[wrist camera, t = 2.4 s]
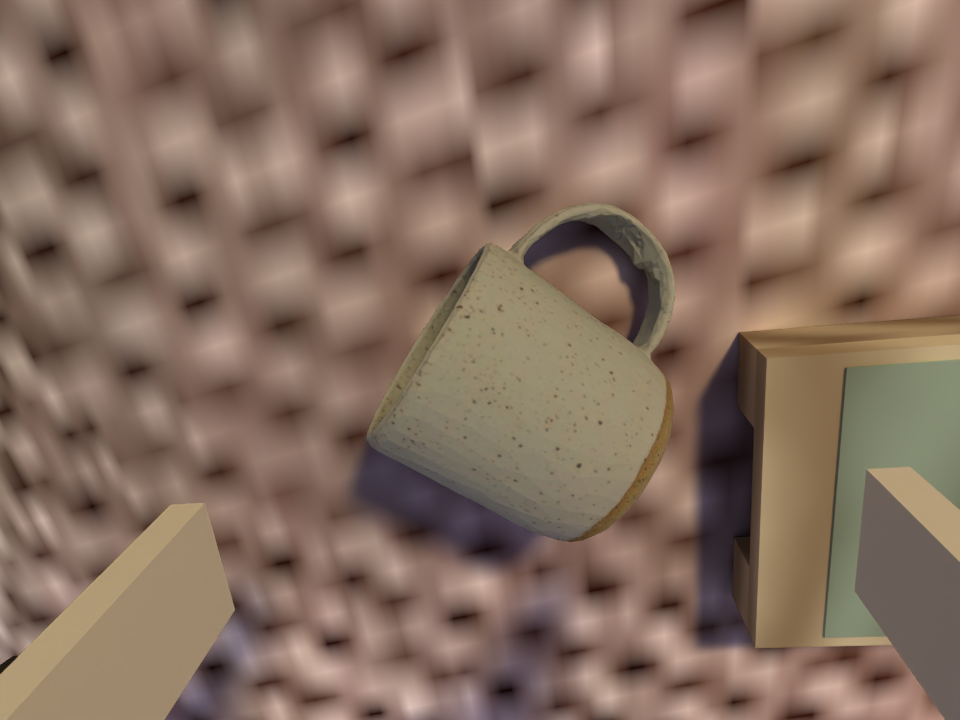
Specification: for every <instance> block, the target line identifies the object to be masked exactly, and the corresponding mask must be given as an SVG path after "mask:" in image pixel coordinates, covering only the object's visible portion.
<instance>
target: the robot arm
mask: <svg viewBox="0 0 960 720" xmlns="http://www.w3.org/2000/svg"><path fill="white" fill-rule="evenodd" d="M855 593H856V594H857V595H858V597H859V598H860V600H861V601H862V602H863V604H864V605H865V607H866V608H867V610H868V611H869V612H870V614H871V615H872V617H873V618H874V619H875V621H876V622H877V624H878V625H879V626H880V628H881V629H882V631H883V632H884V634H885V635H886V636H887V638H888V639H889V641H890V642H891V643H892V645H893V646H894V648H895V649H896V651H897V652H898V653H899V655H900V656H901V658H902V659H903V660H904V662H905V663H906V665H907V666H908V668H909V669H910V670H911V672H912V673H913V675H914V676H915V677H916V679H917V680H918V682H919V683H920V685H921V686H922V687H923V689H924V690H925V692H926V693H927V694H928V696H929V697H930V699H931V700H932V701H933V703H934V704H935V706H936V707H937V709H938V710H939V711H940V713H941V714H942V716H943V717H944V718H945V720H960V510H959V509H958V508H957V507H956V506H955V505H953V504H952V503H951V502H950V501H949V500H948V499H947V498H945V497H944V496H943V495H942V494H941V493H940V492H939V491H937V490H936V489H935V488H934V487H933V486H932V485H930V484H929V483H928V482H927V481H926V480H925V479H924V478H922V477H921V476H920V475H919V474H918V473H917V472H916V471H914V470H913V469H912V468H911V467H896V468H876V469H866V478H865V488H864V498H863V509H862V519H861V529H860V539H859V550H858V560H857V570H856V580H855ZM234 611H235V608H234V605H233V601H232V597H231V594H230V590H229V587H228V583H227V580H226V576H225V573H224V569H223V565H222V562H221V558H220V555H219V551H218V548H217V544H216V540H215V537H214V533H213V530H212V526H211V523H210V519H209V516H208V512H207V508H206V505H205V503H193V504H174V505H170V506H169V507H168V508H167V509H166V510H165V511H164V512H163V513H162V514H161V515H160V516H159V517H158V518H157V519H156V520H155V521H154V522H153V523H152V524H151V525H150V526H149V527H148V528H147V529H146V530H145V531H144V532H143V533H142V534H141V535H140V536H139V537H138V538H137V539H136V540H135V541H134V542H133V543H132V544H131V545H130V546H129V547H128V548H127V549H126V550H125V551H124V552H123V553H122V554H121V555H120V556H119V557H118V558H117V559H116V560H115V561H114V562H113V563H112V564H111V565H110V566H109V567H108V568H107V569H106V570H105V571H104V572H103V573H102V574H101V575H100V576H99V577H98V578H97V579H96V580H95V581H94V582H93V583H92V584H91V585H90V586H89V587H88V588H87V589H86V590H85V591H84V592H83V593H82V594H81V595H80V596H79V597H78V598H77V599H76V600H75V601H74V602H73V603H72V604H71V605H70V606H69V607H68V608H67V609H66V610H65V611H64V612H63V613H62V614H61V615H60V616H59V617H58V618H57V619H56V620H55V621H53V622H52V623H51V624H50V625H49V626H48V627H47V628H46V629H45V630H44V631H43V632H42V633H41V634H40V635H39V636H38V637H37V638H36V639H35V640H34V641H33V642H32V643H31V644H30V645H29V646H28V647H27V648H26V649H25V650H24V651H23V652H22V653H21V654H20V655H19V656H13V657H11V658H10V659H8V660H7V661H5V662H4V663H2V664H1V665H0V720H165V718H166V717H167V715H168V714H169V712H170V710H171V709H172V707H173V706H174V704H175V703H176V701H177V700H178V698H179V696H180V695H181V693H182V692H183V690H184V689H185V687H186V686H187V684H188V682H189V681H190V679H191V678H192V676H193V675H194V673H195V672H196V670H197V668H198V667H199V665H200V664H201V662H202V661H203V659H204V658H205V656H206V654H207V653H208V651H209V650H210V648H211V647H212V645H213V643H214V642H215V640H216V639H217V637H218V636H219V634H220V633H221V631H222V629H223V628H224V626H225V625H226V623H227V622H228V620H229V619H230V617H231V615H232V614H233V612H234Z"/></svg>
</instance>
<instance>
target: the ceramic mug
mask: <svg viewBox="0 0 960 720" xmlns="http://www.w3.org/2000/svg"><path fill="white" fill-rule="evenodd" d="M572 221H583V222H585V223H587V224H591V225H594V226H596V227H597V228H599V229H600V230H601V231H602V232H603V233H605V234H606V235H607V236H608V237H609V238H610V239H612V240H613V241H614V242H615V243H617V244H618V245H619V246H620V247H621V248H622V249H623V250H624V251H625V252H626V253H627V254H628V255H629V256H630V258H631V260H632V263H633V265H634V266H635V267H637V268H639V269H644V271H645V274H646V277H647V280H648V292H649V301H648V307H647V309H646V311H645V318H644V321H643V323H642V325H641V327H640V330H639V333H638V335H637V336H636V338H635V340H634V342H633V343H631V342H630V341H629V340H627V339H626V338H625V337H623V336H622V335H620V334H619V333H617V332H616V331H614V330H613V329H611V328H610V327H608V326H607V325H605V324H603V323H602V322H600V321H599V320H597V319H596V318H594V317H593V316H592V315H590V314H589V313H588V312H586V311H585V310H584V309H583V308H581V307H580V306H579V305H577V304H576V303H575V302H573V301H572V300H571V299H570V298H568V297H567V296H565V295H564V294H563V293H561V292H560V291H559V290H557V289H556V288H555V287H554V286H552V285H551V284H550V283H548V282H547V281H545V280H544V279H543V278H541V277H540V276H539V275H538V274H536V273H535V272H533V271H532V270H530V269H528V268H527V267H526V266H525V265H524V255H525V253H526V251H527V250H528V249H529V248H530V247H531V246H532V245H533V244H534V243H535V242H536V241H537V240H539V239H540V238H541V237H542V236H544V235H545V234H547V233H548V232H549V231H551V230H552V229H554V228H555V227H557V226H558V225H561V224H564V223H567V222H572ZM674 299H675V283H674V277H673V271H672V268H671V265H670V262H669V259H668V256H667V254H666V252H665V250H664V249H663V247H662V246H661V244H660V242H659V241H658V240H657V238H656V237H655V236H654V234H653V233H652V232H651V231H650V230H649V229H648V228H647V227H645V226H644V225H643V224H642V223H641V222H639V221H638V220H637V219H636V218H635V217H633V216H632V215H630V214H629V213H627V212H625V211H623V210H621V209H619V208H617V207H615V206H612V205H607V204H600V203H586V204H581V205H576V206H572V207H568V208H565V209H562V210H560V211H558V212H556V213H554V214H552V215H550V216H548V217H546V218H545V219H544V220H542V221H541V222H540V223H538V224H537V225H536V226H535V227H533V228H532V229H531V230H530V231H529V232H528V233H526V234H525V235H524V236H523V237H522V238H521V239H520V240H519V241H517V242H516V243H515V244H514V245H513V246H512V248H511V249H510V250H509V251H508V252H507V251H504V250H503V249H502V248H500V247H498V246H497V245H495V244H492V243H489V244H486V245H485V246H483V247H482V248H481V249H480V250H479V251H478V252H477V254H476V255H475V256H474V257H473V258H472V259H471V261H470V262H469V264H468V265H467V266H466V267H465V269H464V270H463V272H462V273H461V274H460V276H459V277H458V278H457V279H456V281H455V283H454V285H453V287H452V288H451V290H450V291H449V292H448V294H447V295H446V296H445V298H444V299H443V300H442V302H441V303H440V305H439V306H438V308H437V309H436V311H435V313H434V314H433V316H432V317H431V319H430V321H429V322H428V324H427V325H426V326H425V328H424V329H423V331H422V333H421V335H420V337H419V338H418V339H417V341H416V342H415V344H414V346H413V348H412V349H411V351H410V353H409V354H408V356H407V357H406V359H405V361H404V362H403V364H402V366H401V367H400V369H399V371H398V373H397V374H396V376H395V378H394V379H393V381H392V382H391V384H390V386H389V388H388V390H387V392H386V395H385V396H384V398H383V399H382V401H381V403H380V406H379V408H378V410H377V411H376V414H375V416H374V418H373V420H372V423H371V425H370V427H369V429H368V432H367V436H366V441H367V442H368V444H369V445H370V446H371V447H372V448H374V449H375V450H376V451H378V452H380V453H382V454H384V455H386V456H388V457H390V458H392V459H394V460H396V461H398V462H400V463H402V464H404V465H406V466H408V467H410V468H411V469H413V470H415V471H417V472H419V473H421V474H423V475H425V476H427V477H428V478H430V479H432V480H434V481H436V482H437V483H439V484H441V485H443V486H445V487H447V488H449V489H451V490H452V491H454V492H456V493H458V494H460V495H462V496H464V497H466V498H468V499H470V500H472V501H474V502H476V503H478V504H480V505H482V506H484V507H486V508H487V509H489V510H491V511H493V512H494V513H496V514H498V515H500V516H502V517H503V518H505V519H507V520H509V521H511V522H513V523H514V524H516V525H518V526H520V527H523V528H525V529H527V530H529V531H531V532H534V533H538V534H541V535H544V536H547V537H550V538H554V539H557V540H562V541H569V542H574V541H581V540H584V539H587V538H589V537H592V536H594V535H596V534H599V533H601V532H603V531H604V530H606V529H608V528H609V527H610V526H611V525H612V524H614V523H615V522H616V521H617V520H618V519H619V518H620V517H622V516H623V515H624V514H625V513H626V512H627V511H628V510H629V509H630V507H631V506H632V505H633V504H634V502H635V501H636V500H637V498H638V497H639V496H640V495H641V493H642V492H643V491H644V489H645V487H646V486H647V484H648V482H649V481H650V479H651V477H652V475H653V474H654V472H655V470H656V468H657V467H658V465H659V463H660V461H661V459H662V456H663V454H664V452H665V449H666V446H667V443H668V441H669V438H670V434H671V428H672V423H673V411H674V406H673V397H672V390H671V386H670V383H669V381H668V379H667V378H666V377H665V375H664V374H663V373H662V372H661V371H660V370H659V369H658V367H657V366H656V365H655V364H654V363H653V362H652V361H651V354H652V352H653V351H654V350H655V349H656V347H657V346H658V344H659V342H660V340H661V338H662V337H663V336H664V334H665V332H666V328H667V326H668V323H669V321H670V319H671V316H672V310H673V305H674Z"/></svg>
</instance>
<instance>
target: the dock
mask: <svg viewBox="0 0 960 720" xmlns="http://www.w3.org/2000/svg"><path fill="white" fill-rule="evenodd" d="M737 406H738V407H739V409H740V410H741V411H742V413H743V414H744V415H745V417H746V418H747V419H748V421H749V422H750V423H751V425H752V426H753V427H754V446H753V475H752V504H751V534H750V537H734V561H733V598H734V600H735V603H736V605H737V607H738V609H739V612H740V614H741V616H742V619H743V621H744V623H745V626H746V628H747V630H748V632H749V635H750V637H751V639H752V642H753V644H754V646H755V648H781V647H823V646H865V645H892V643H891V642H890V641H889V639H888V638H887V636H886V635H885V634H884V632H883V631H882V629H881V628H880V626H879V625H878V624H877V622H876V621H875V619H874V618H873V617H872V615H871V614H870V612H869V611H868V610H867V608H866V607H865V605H864V604H863V602H862V601H861V600H860V598H859V597H858V595H857V594H856V593H855V580H856V570H857V560H858V550H859V539H860V529H861V519H862V509H863V498H864V488H865V478H866V469H876V468H896V467H911V468H912V469H913V470H914V471H916V472H917V473H918V474H919V475H920V476H921V477H922V478H924V479H925V480H926V481H927V482H928V483H929V484H930V485H932V486H933V487H934V488H935V489H936V490H937V491H939V492H940V493H941V494H942V495H943V496H944V497H945V498H947V499H948V500H949V501H950V502H951V503H952V504H953V505H955V506H956V507H957V508H958V509H959V510H960V315H959V316H946V317H933V318H920V319H907V320H894V321H881V322H868V323H855V324H842V325H829V326H816V327H803V328H790V329H777V330H764V331H751V332H739V359H738V399H737Z"/></svg>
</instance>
